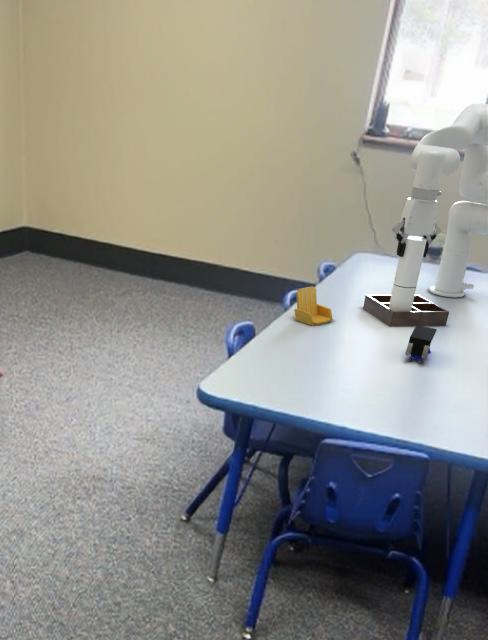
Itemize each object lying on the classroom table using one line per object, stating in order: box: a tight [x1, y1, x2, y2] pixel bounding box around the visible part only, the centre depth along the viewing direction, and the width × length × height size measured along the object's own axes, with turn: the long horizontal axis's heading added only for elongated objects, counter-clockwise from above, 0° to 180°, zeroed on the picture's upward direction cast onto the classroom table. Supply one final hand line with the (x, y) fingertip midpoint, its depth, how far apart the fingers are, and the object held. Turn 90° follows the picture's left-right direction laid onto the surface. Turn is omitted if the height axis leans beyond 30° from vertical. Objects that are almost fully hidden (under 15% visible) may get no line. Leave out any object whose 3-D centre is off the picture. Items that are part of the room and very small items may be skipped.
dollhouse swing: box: [294, 286, 334, 327], centre depth 254 cm, size 10×10×9 cm
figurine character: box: [405, 325, 438, 364], centre depth 230 cm, size 7×8×15 cm
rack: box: [362, 294, 450, 327], centre depth 266 cm, size 20×20×5 cm
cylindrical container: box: [389, 235, 427, 311], centre depth 255 cm, size 7×7×25 cm
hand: (411, 255), depth 251 cm, fingers closed on cylindrical container, 7 cm apart
